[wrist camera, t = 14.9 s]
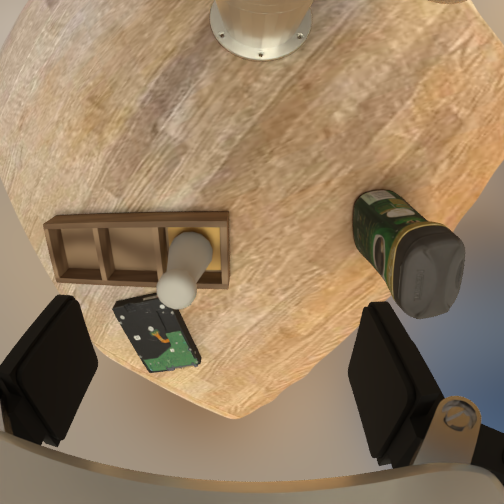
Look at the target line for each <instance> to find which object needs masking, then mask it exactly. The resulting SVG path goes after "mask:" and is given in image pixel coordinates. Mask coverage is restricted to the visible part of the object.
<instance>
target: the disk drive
mask: <svg viewBox="0 0 504 504" xmlns="http://www.w3.org/2000/svg"><path fill="white" fill-rule="evenodd" d="M112 310H113V311H114V314H115V316H116V318H117V320H118V321H119V322H120V325H121V326H122V328H123V330H124V332H125V333H126V335H127V337H128V339H129V340H130V342H131V344H132V345H133V347H134V349H135V351H136V352H137V354H138V356H139V357H140V359H141V361H142V362H143V364H144V365H145V367H146V368H147V370H148V371H149V373H154V372H163V371H173V370H175V368H176V369H180V368H187V367H193V366H194V367H197V366H198V365H199V364H201V356H200V354H199V352H198V349H197V347H196V345H195V343H194V342H193V339H192V337H191V335H190V333H189V331H188V329H187V327H186V325H185V323H184V320H183V318H182V316H181V314H180V312H179V310H178V309H172V308H170V307H167V306H166V305H164V304H163V303H162V302H161V301H160V300H159V298H158V296H157V293H153V294H148V295H143V296H139V297H134V298H130V299H125V300H121V301H117V302H116V303H115V305H114V307H113V308H112Z"/></svg>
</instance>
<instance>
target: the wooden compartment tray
mask: <svg viewBox="0 0 504 504" xmlns="http://www.w3.org/2000/svg"><path fill="white" fill-rule="evenodd" d="M43 227H44V232H45V237H46V241H47V246H48V250H49V254H50V258H51V262H52V266H53V270H54V274H55V278H56V281H57V282H60V283H76V284H93V285H112V286H134V287H157V283H158V281H159V279H160V278H161V276H162V274H164V273H165V272H166V271H167V263H168V255H169V247H170V245H171V243H172V241H173V240H174V238H175V237H177V236H178V235H180V234H181V233H183V232H192V231H193V232H196V233H200V234H202V235H203V236H204V237H205V238H206V239H207V240H209V242H210V244H211V247H212V249H213V253H212V261H211V262H210V264H209V265H208V267H207V268H206V270H205V271H204V273H203V274H202V276H201V277H200V278H199V280H198V281H197V283H196V284H197V289H228V287H229V279H230V251H229V212H228V211H202V212H132V213H99V214H74V215H56V216H55V217H53V218H52V219H50V220H49V221H47V222H46V223H44V224H43Z"/></svg>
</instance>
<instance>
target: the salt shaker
mask: <svg viewBox="0 0 504 504" xmlns="http://www.w3.org/2000/svg"><path fill="white" fill-rule="evenodd" d="M212 253H213V249H212V247H211V244H210V242H209V240H207V239H206V238H205V237H204V236H203V235H202V234H200V233H196V232H193V231H192V232H183V233H181V234H180V235H178V236H177V237H175V238H174V240H173V241H172V243H171V245H170V247H169V255H168V263H167V271H166V272H165V273H164V274H162V276H161V278H160V279H159V281H158V283H157V296H158V298H159V300H160V301H161V302H162V303H163V304H164V305H166V306H167V307H170V308H172V309H184V308H186V307H188V306H190V305H191V303H192V302H193V300H194V299H195V297H196V293H197V284H196V283H197V281H198V280H199V278H200V277H201V276H202V274H203V273H204V271H205V270H206V268H207V267H208V265H209V264H210V262H211V261H212Z"/></svg>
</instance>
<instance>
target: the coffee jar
mask: <svg viewBox="0 0 504 504" xmlns="http://www.w3.org/2000/svg"><path fill="white" fill-rule="evenodd" d="M353 231H354V240H355V245H356V247H357V249H358V250H359V252H360V253H361V254H362V255H363V256H364V257H365V258H366V259H367V260H368V261H369V262H370V263H371V264H372V266H373V267H374V268H375V269H376V270H377V271H378V273H379V274H380V275H381V276H382V278H383V279H384V281H385V282H386V284H387V286H388V288H389V290H390V292H391V295H392V297H393V299H394V300H395V302H396V303H397V304H398V306H399V307H400V308H401V309H402V310H403V311H404V312H405V313H406V314H408V315H409V316H411V317H413V318H416V319H423V318H429V317H434V316H437V315H440V314H443V313H446V312H448V311H449V308H450V307H451V306H452V304H453V303H454V301H455V300H456V298H457V295H458V293H459V290H460V285H461V280H462V275H463V269H464V261H465V247H464V244H463V242H462V241H461V240H460V238H459V237H458V236H456V235H455V234H454V233H453V232H452V231H451V230H450V229H449V228H448V227H446V226H445V225H443V224H440V223H436V222H429V221H427V220H426V219H425V218H424V217H423V216H421V215H420V214H419V213H418V212H417V211H416V210H415V209H413V208H412V207H411V206H410V205H409V204H408V203H407V202H406V201H405V200H404V199H403V198H401V197H400V196H399V195H397V194H396V193H394V192H392V191H387V190H378V191H372V192H368V193H365V194H363V195H362V196H360V197H359V198H358V200H357V201H356V203H355V206H354V214H353Z"/></svg>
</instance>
